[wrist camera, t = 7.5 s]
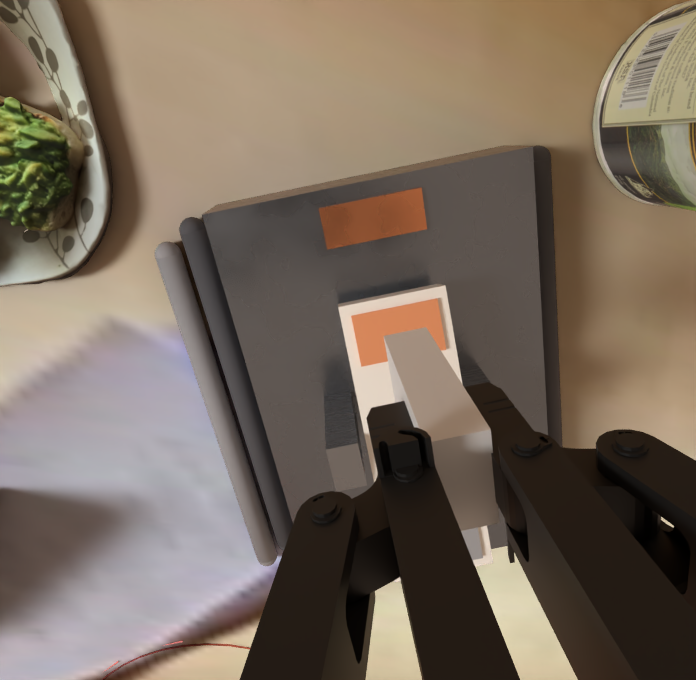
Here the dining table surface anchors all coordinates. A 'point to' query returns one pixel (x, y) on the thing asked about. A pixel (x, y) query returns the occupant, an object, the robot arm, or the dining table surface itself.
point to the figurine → (176, 647)
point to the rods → (240, 380)
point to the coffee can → (652, 112)
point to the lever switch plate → (374, 280)
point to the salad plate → (50, 160)
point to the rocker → (373, 369)
